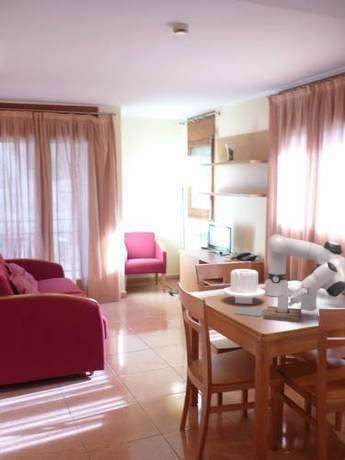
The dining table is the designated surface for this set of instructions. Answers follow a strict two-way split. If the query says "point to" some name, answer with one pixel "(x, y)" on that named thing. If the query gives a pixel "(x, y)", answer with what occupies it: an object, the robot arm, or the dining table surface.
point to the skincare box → (309, 302)
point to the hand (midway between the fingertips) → (290, 302)
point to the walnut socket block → (282, 314)
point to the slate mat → (250, 311)
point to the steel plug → (282, 304)
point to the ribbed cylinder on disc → (244, 286)
